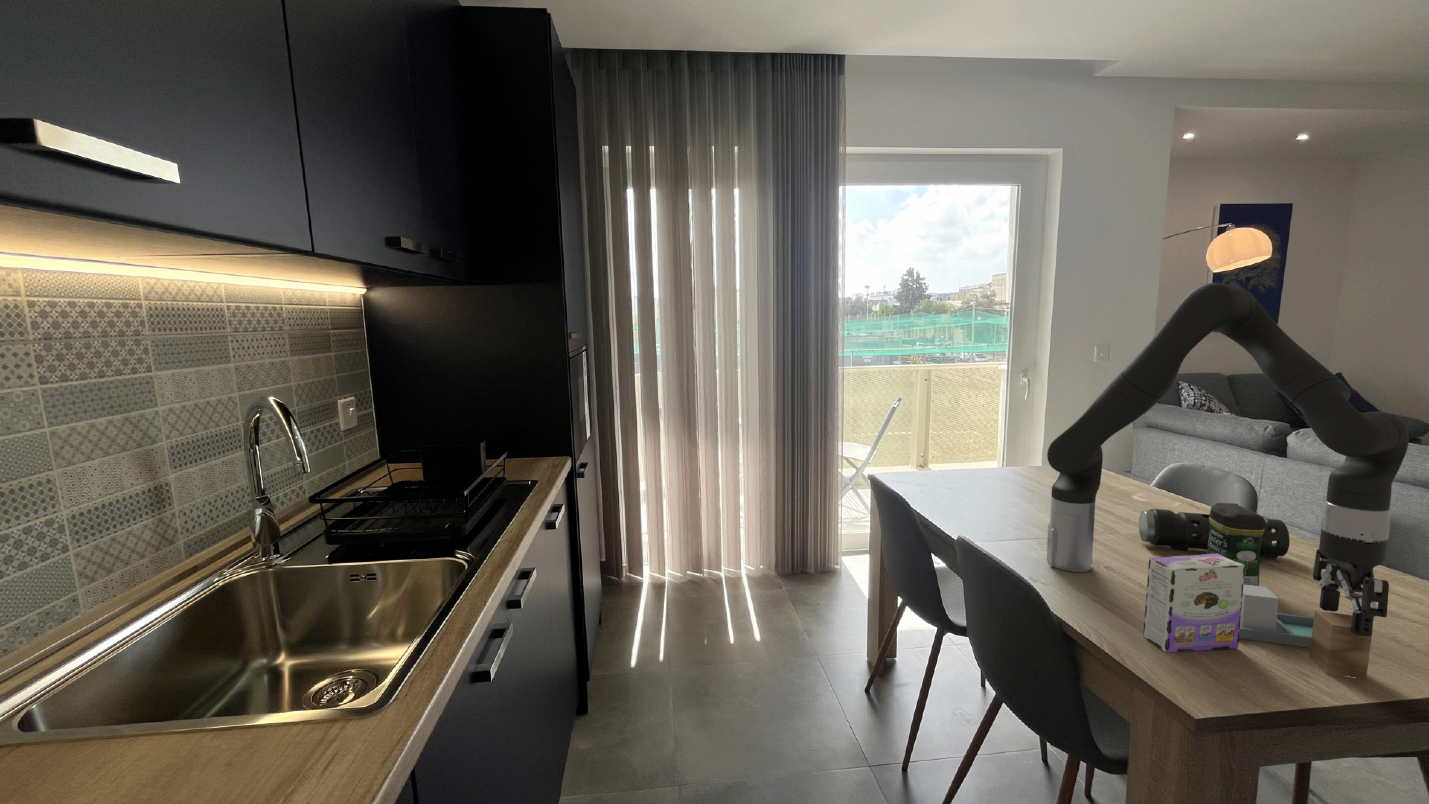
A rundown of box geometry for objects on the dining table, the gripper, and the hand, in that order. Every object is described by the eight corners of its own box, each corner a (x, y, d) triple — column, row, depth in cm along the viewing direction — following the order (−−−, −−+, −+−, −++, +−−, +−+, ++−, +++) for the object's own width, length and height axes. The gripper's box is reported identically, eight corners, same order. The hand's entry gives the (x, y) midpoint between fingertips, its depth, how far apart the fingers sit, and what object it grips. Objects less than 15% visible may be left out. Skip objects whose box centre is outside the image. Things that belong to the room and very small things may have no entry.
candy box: (1210, 632, 111) (1218, 552, 109) (1239, 649, 105) (1247, 565, 103) (1141, 636, 110) (1147, 555, 108) (1166, 653, 105) (1173, 568, 102)
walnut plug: (1326, 674, 97) (1332, 624, 96) (1309, 658, 102) (1314, 610, 101) (1365, 680, 95) (1372, 629, 94) (1346, 663, 100) (1352, 615, 99)
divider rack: (1232, 637, 109) (1236, 598, 108) (1211, 614, 117) (1215, 577, 116) (1358, 654, 102) (1363, 612, 101) (1326, 628, 111) (1331, 589, 110)
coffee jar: (1197, 575, 135) (1203, 499, 132) (1237, 577, 133) (1244, 500, 130) (1222, 594, 125) (1229, 513, 123) (1265, 597, 124) (1274, 514, 121)
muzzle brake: (1288, 567, 138) (1292, 526, 136) (1146, 552, 148) (1149, 514, 147) (1268, 552, 146) (1272, 513, 145) (1136, 539, 157) (1139, 503, 156)
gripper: (1300, 515, 103) (1292, 600, 105) (1352, 544, 90) (1341, 640, 92) (1355, 519, 100) (1346, 605, 103) (1417, 549, 87) (1405, 648, 89)
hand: (1344, 622), depth 97 cm, fingers open, 8 cm apart
